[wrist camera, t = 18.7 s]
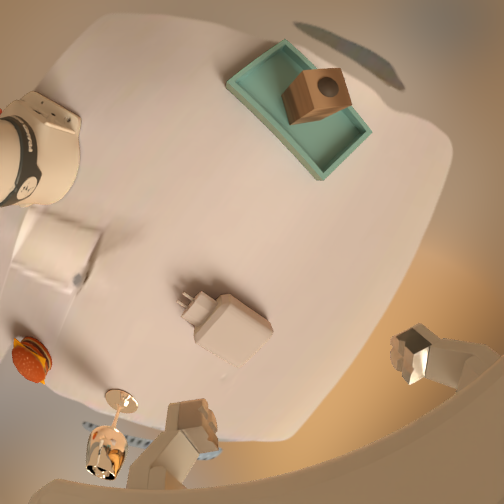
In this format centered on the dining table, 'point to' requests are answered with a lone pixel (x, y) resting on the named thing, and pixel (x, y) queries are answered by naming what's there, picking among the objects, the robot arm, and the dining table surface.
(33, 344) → the hamburger
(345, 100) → the block
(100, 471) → the wineglass
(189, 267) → the dining table surface
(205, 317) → the charger
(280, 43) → the tray
